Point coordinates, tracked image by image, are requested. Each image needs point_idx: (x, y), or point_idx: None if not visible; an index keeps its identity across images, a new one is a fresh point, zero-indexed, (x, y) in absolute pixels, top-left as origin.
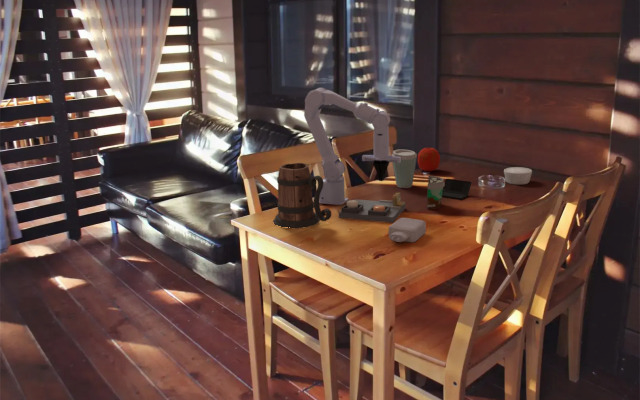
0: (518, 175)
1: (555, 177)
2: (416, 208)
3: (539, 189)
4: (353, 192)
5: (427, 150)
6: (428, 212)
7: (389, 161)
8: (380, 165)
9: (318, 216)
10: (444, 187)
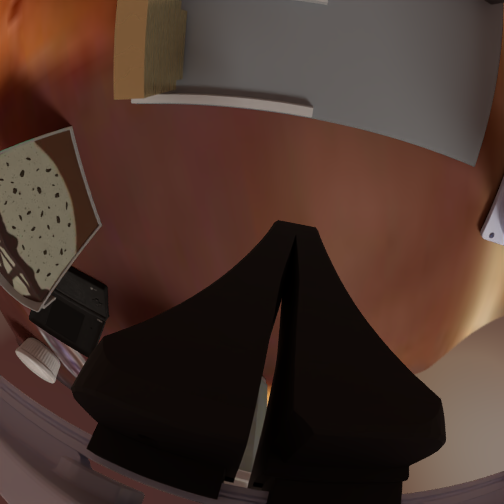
0: (22, 349)
1: None
2: (107, 118)
3: (3, 310)
4: (434, 328)
5: None
6: (58, 81)
7: (79, 437)
8: (238, 384)
9: None
10: (98, 329)
